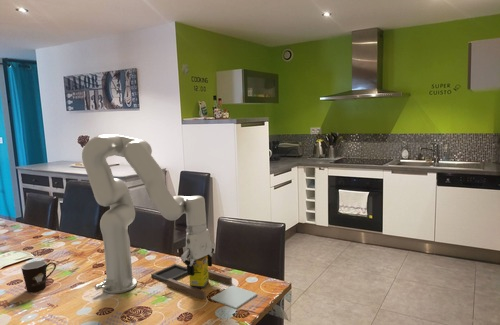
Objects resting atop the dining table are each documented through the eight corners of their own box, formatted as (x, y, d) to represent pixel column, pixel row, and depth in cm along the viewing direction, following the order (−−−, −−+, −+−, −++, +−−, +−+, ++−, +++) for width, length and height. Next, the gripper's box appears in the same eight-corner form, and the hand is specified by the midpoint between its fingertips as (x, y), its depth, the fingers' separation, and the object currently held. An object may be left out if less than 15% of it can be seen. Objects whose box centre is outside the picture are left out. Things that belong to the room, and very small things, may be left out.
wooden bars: (202, 299, 128) (202, 293, 128) (167, 285, 140) (166, 279, 140) (231, 283, 141) (231, 277, 140) (196, 271, 153) (196, 265, 153)
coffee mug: (22, 296, 136) (19, 271, 135) (24, 287, 143) (22, 263, 142) (57, 288, 141) (54, 264, 140) (57, 280, 149) (55, 257, 147)
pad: (236, 308, 121) (236, 307, 121) (210, 299, 128) (210, 297, 128) (257, 294, 130) (257, 293, 130) (232, 286, 138) (232, 285, 138)
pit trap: (168, 283, 142) (168, 280, 142) (151, 277, 149) (151, 274, 149) (192, 272, 152) (192, 269, 152) (175, 266, 159) (175, 263, 159)
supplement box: (204, 288, 137) (202, 261, 136) (189, 287, 138) (188, 260, 137) (209, 281, 143) (207, 255, 142) (194, 280, 144) (193, 254, 143)
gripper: (186, 235, 129) (190, 280, 131) (219, 223, 142) (222, 264, 144) (173, 232, 133) (176, 276, 135) (205, 221, 147) (208, 260, 149)
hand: (200, 270), depth 140 cm, fingers open, 9 cm apart
